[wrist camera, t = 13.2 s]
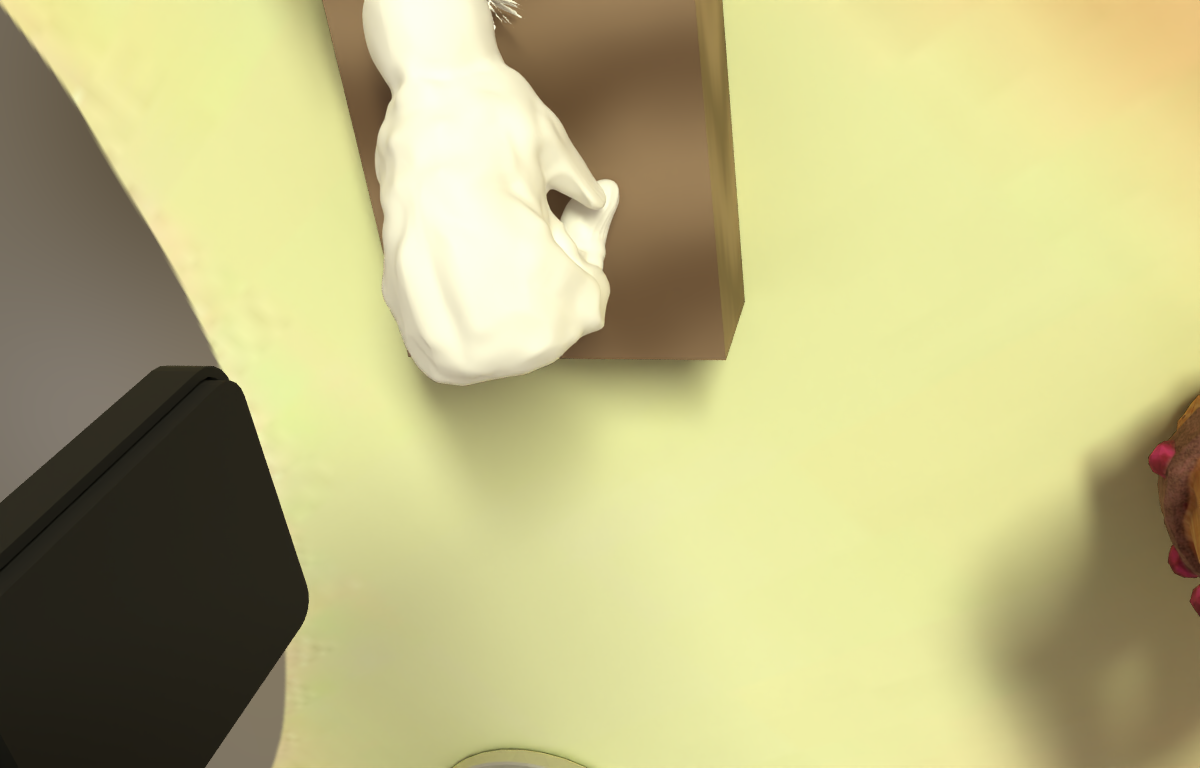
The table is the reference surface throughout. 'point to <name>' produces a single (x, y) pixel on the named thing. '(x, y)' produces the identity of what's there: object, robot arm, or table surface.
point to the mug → (1182, 494)
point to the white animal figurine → (479, 200)
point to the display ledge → (618, 154)
